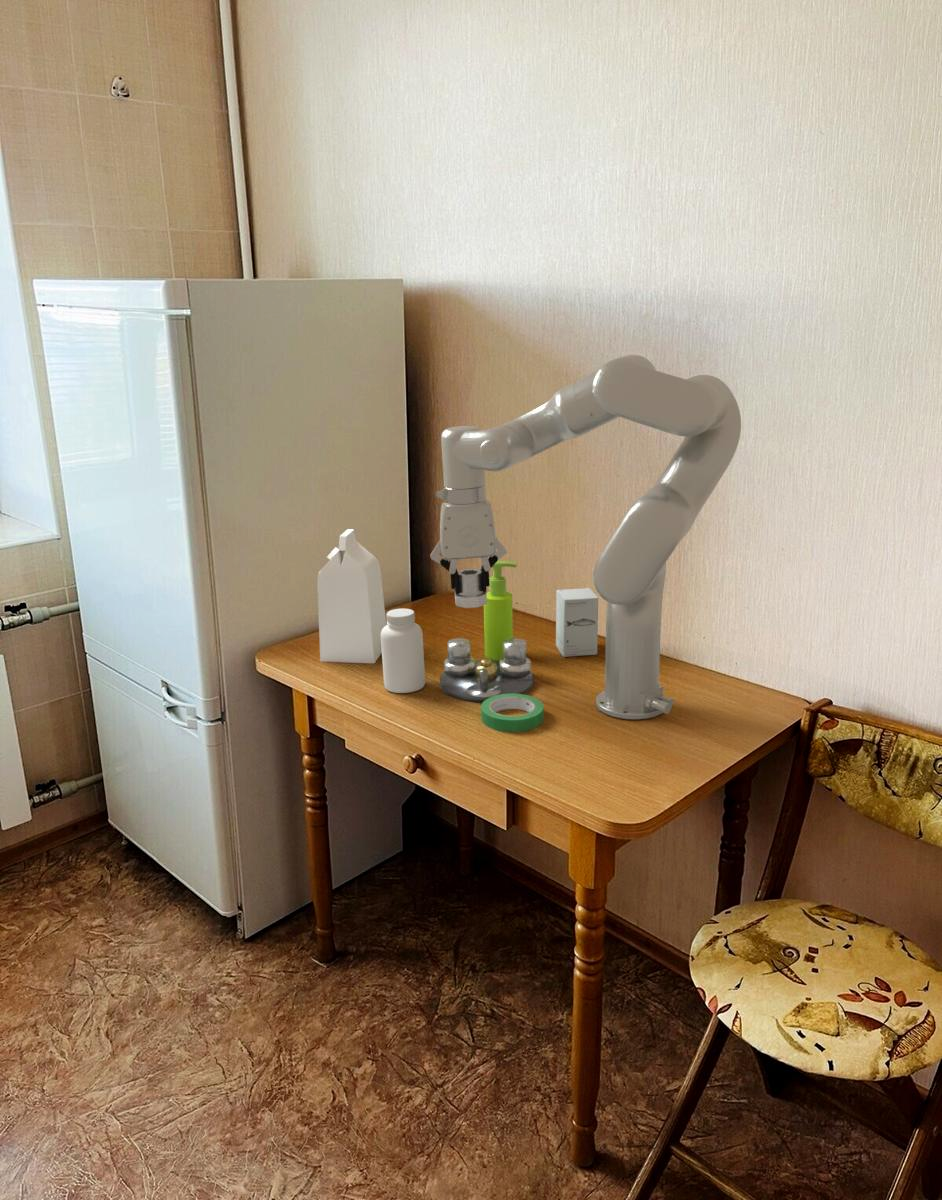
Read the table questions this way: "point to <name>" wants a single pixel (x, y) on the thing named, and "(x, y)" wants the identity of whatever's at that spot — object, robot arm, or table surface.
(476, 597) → the octagonal collar pipe
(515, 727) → the tape roll
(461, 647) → the carrier
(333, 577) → the milk
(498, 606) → the soap dispenser
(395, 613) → the pill bottle
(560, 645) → the supplement box
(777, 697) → the table surface
